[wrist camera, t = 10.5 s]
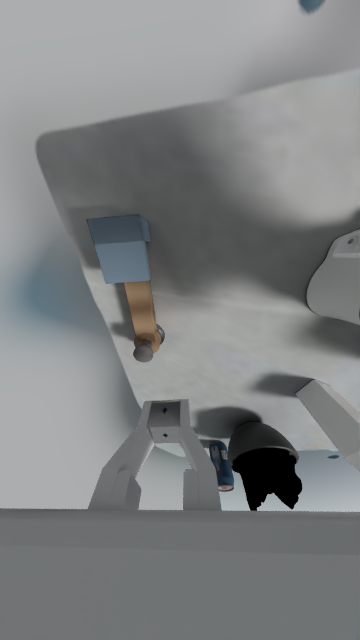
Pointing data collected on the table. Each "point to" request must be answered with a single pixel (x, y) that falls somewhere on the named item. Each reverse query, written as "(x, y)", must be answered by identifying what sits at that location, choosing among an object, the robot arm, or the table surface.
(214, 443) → the soda can
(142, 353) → the link
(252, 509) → the bowl of black rocks
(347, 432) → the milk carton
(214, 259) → the table surface
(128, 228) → the keeper
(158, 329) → the pin washer
